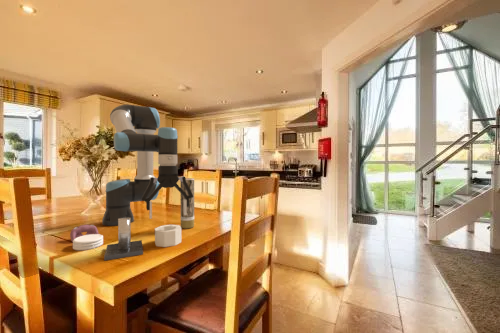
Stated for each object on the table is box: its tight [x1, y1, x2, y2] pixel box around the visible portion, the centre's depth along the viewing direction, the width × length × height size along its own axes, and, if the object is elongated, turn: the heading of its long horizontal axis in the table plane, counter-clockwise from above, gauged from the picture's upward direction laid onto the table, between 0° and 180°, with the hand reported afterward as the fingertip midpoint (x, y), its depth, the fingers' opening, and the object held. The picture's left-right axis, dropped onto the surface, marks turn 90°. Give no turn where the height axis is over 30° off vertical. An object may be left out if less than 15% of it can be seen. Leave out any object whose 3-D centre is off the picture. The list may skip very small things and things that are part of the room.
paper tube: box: [180, 177, 195, 229], centre depth 119 cm, size 7×7×25 cm
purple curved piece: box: [69, 224, 99, 243], centre depth 101 cm, size 10×5×7 cm, turn 135°
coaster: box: [72, 233, 104, 251], centre depth 93 cm, size 10×10×4 cm
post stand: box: [103, 217, 144, 261], centre depth 87 cm, size 12×12×12 cm
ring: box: [154, 224, 182, 248], centre depth 97 cm, size 10×10×6 cm
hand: (168, 216), depth 97 cm, fingers open, 13 cm apart
